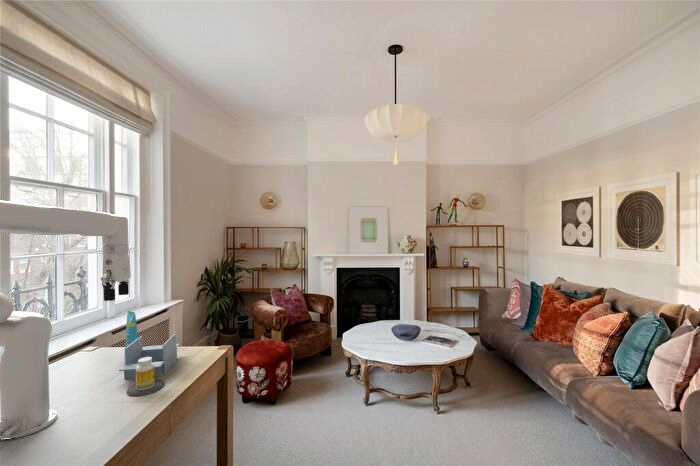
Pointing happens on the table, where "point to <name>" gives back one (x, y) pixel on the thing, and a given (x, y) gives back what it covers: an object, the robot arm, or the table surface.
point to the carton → (157, 353)
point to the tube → (131, 328)
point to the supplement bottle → (145, 374)
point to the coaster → (157, 386)
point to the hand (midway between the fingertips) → (116, 297)
